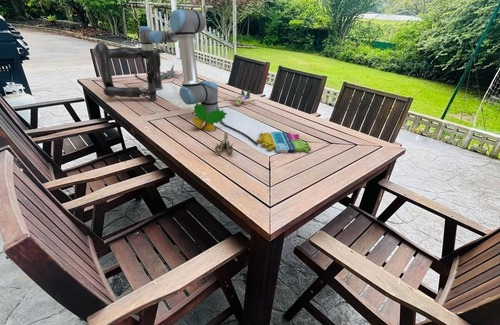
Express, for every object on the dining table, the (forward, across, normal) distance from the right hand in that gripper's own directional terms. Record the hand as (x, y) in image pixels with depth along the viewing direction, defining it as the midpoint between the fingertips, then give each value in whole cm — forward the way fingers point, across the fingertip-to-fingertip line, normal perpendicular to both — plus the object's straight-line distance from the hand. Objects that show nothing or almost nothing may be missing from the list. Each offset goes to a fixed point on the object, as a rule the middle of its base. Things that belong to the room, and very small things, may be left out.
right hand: (151, 82), depth 202 cm
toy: (+14, -2, -71) cm, 73 cm away
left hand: (+8, 0, -3) cm, 8 cm away
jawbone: (+14, -94, -47) cm, 106 cm away
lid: (-4, 0, 0) cm, 4 cm away
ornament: (+14, -61, -41) cm, 75 cm away
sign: (+14, -85, -81) cm, 119 cm away
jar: (+14, 0, 0) cm, 14 cm away
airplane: (+14, +86, -5) cm, 87 cm away
